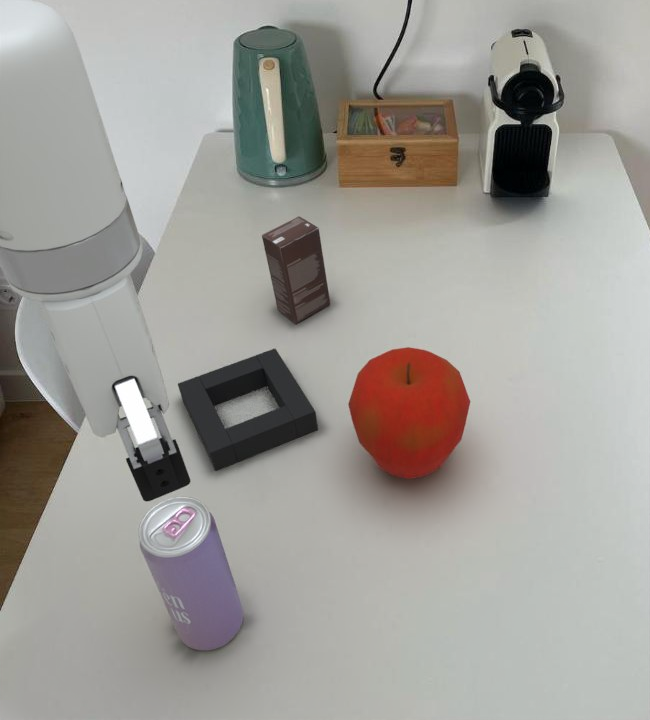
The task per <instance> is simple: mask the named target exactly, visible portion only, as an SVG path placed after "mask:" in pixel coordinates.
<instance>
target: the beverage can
mask: <svg viewBox="0 0 650 720" xmlns="http://www.w3.org/2000/svg"><path fill="white" fill-rule="evenodd" d="M137 533H138V542H139V548H140V551H141V553H142V556H143V558H144V561H145V562H146V566H147V567H148V569H149V571H150V574H151V576H152V579H153V581H154V583H155V585H156V587H157V590H158V592H159V595H160V597H161V599H162V601H163V604H164V607H165V608H166V610H167V612H168V615H169V617H170V619H171V621H172V624H173V626H174V628H175V631H176V633H177V635H178V637H179V639H180V640H181V642H182V643H183V644H184V645H185V646H187V647H188V648H190V649H193V650H196V651H212V650H216V649H219V648H221V647H223V646H225V645H227V644H228V643H230V641H231V640H232V639H234V638H235V636H236V635H237V634H238V632H239V631H240V629H241V627H242V624H243V622H244V607H243V605H242V601H241V598H240V595H239V592H238V588H237V586H236V582H235V579H234V577H233V573H232V570H231V566H230V564H229V561H228V556H227V555H226V554H227V553H226V551H225V549H224V545H223V542H222V538H221V536H220V532H219V530H218V526H217V523H216V519H215V518H214V515H213V514H212V513H211V511H210V510H209V509H208V506H206V504H205V503H204V502H202V501H201V500H199V499H197V498H194V497H190V496H174V497H171V498H167V499H165V500H162V501H160V502H158V503H156V504H155V505H154V506H153V507H151V508H150V509H149V510H148V511H147V512H146V513H145V515H143V518H142V519H141V521H140V523H139V527H138V532H137Z"/></svg>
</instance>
